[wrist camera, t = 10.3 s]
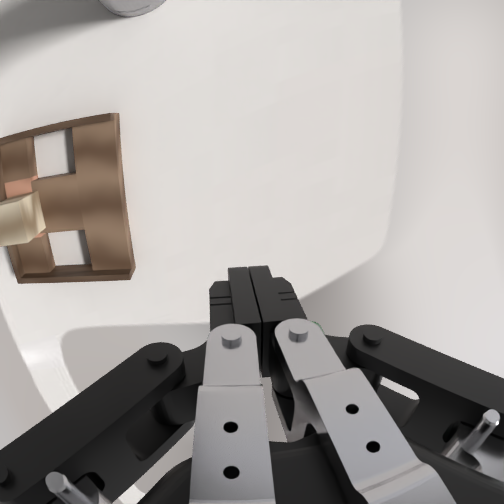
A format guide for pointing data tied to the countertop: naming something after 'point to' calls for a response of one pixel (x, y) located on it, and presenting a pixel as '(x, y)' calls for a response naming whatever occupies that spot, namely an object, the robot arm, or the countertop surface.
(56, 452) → the robot arm
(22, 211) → the birch block
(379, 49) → the countertop surface
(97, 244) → the box
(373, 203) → the countertop surface
